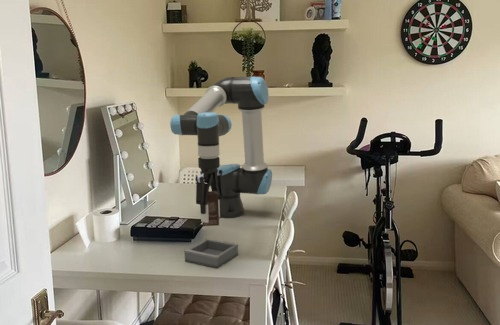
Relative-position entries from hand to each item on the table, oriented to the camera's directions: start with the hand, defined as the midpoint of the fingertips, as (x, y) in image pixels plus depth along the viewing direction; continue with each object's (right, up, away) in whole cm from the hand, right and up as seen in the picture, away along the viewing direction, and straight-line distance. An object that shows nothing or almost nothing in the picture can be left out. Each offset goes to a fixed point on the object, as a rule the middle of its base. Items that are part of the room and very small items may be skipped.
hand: (210, 219), depth 180 cm
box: (0, -2, 0) cm, 2 cm away
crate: (0, -15, +3) cm, 15 cm away
